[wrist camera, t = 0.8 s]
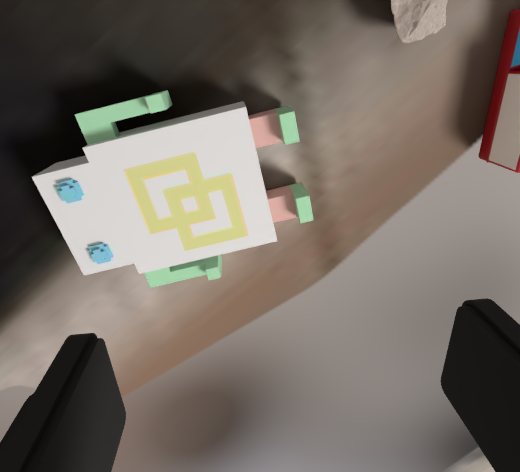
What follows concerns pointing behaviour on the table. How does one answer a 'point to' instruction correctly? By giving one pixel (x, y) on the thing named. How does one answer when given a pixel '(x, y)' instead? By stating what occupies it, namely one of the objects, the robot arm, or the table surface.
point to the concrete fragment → (418, 18)
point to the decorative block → (170, 189)
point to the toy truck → (505, 104)
